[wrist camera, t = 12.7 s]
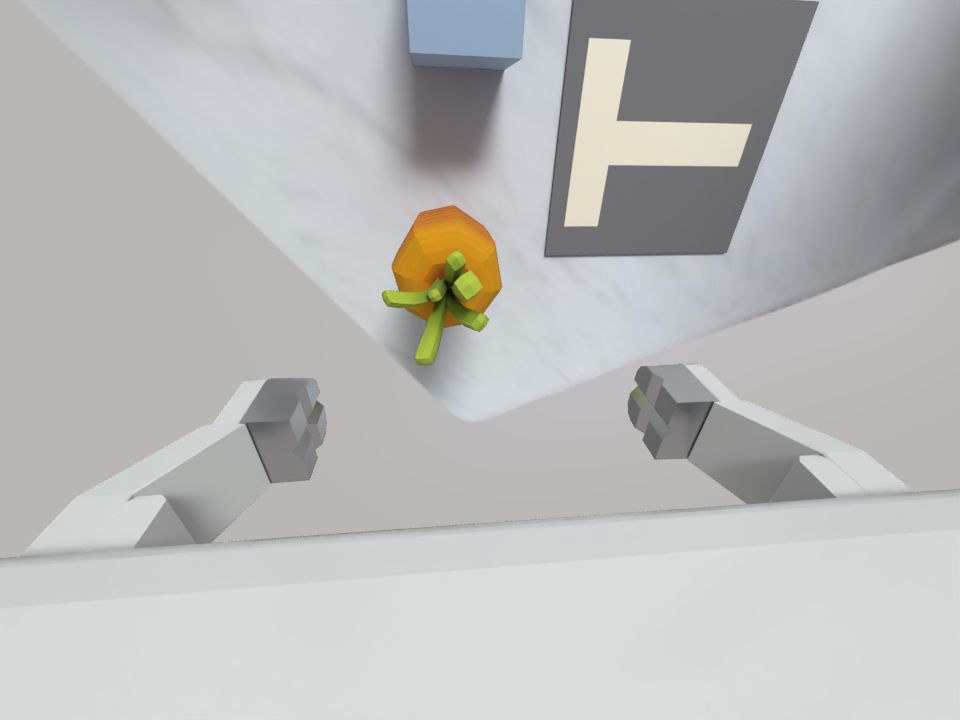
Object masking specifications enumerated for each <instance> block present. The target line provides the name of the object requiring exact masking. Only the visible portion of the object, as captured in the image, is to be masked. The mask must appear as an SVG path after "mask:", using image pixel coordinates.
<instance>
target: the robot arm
mask: <svg viewBox="0 0 960 720" xmlns="http://www.w3.org/2000/svg"><path fill="white" fill-rule="evenodd" d="M635 381H636V383H637V385H638V386H637V387H636V389H634V390H633V391H632V392H631V393H630V397H629V400H628V414H629V417H630V420H631V422H632V424H633V425H634V427H635V428H636V429H638V430H640V431H641V432H643V433H644V437H643V441H644V443H645V445H646V446H647V448H648V449H649V451H650V452H651V454H652V456H653V457H654V459H655V460H657V459H688V461H690V462H691V463H692V464H694V465H695V466H696V467H698V468H699V469H700V470H702V471H703V472H704V473H706V474H707V475H708V476H710V477H711V478H713V479H714V480H715V481H717V482H718V483H719V484H721V485H722V486H723V487H725V488H726V489H728V490H729V491H730V492H732V493H733V494H734V495H736V496H737V497H739V498H740V499H741V500H742V501H744V502H745V503H746V504H745V505H731V506H717V507H704V508H690V509H676V510H661V511H647V512H633V513H619V514H606V515H592V516H577V517H564V518H551V519H550V518H549V519H535V520H523V521H522V520H521V521H508V522H494V523H481V524H466V525H454V526H453V525H452V526H438V527H425V528H411V529H397V530H383V531H370V532H356V533H342V534H328V535H314V536H300V537H288V538H273V539H260V540H259V539H258V540H245V541H231V542H218V543H212V542H213V541H214V540H215V539H216V538H217V537H218V536H219V535H220V534H221V533H222V532H223V531H224V530H225V529H226V528H227V527H228V526H229V525H230V524H231V523H232V522H233V521H235V520H236V519H237V518H238V517H239V516H240V515H241V514H242V513H243V512H244V511H245V510H246V509H247V508H248V507H249V506H250V505H251V504H252V503H253V502H254V501H255V500H256V499H257V498H259V496H261V495H262V494H263V493H264V492H265V491H266V490H267V489H268V488H269V487H270V486H271V483H281V482H292V481H305V480H310V478H311V475H312V472H313V469H314V467H315V464H316V461H317V458H318V457H317V454H316V451H315V449H317V448H318V447H319V446H320V445H322V444H323V441H324V438H325V434H326V424H327V422H326V413H325V409H324V406H323V405H322V404H320V403H319V402H318V401H317V398H318V396H319V393H320V390H319V387H318V384H317V381H316V380H315V379H314V378H279V379H278V378H276V379H249V380H246V381H244V382H243V383H242V384H241V385H240V387H239V388H238V389H237V391H236V392H235V394H234V395H233V396H232V398H231V399H230V400H229V402H228V403H227V404H226V406H225V407H224V408H223V410H222V411H221V412H220V414H219V415H218V417H217V418H216V419H215V421H214V422H213V424H212V425H204V426H202V427H200V428H198V429H197V430H195V431H193V432H191V433H190V434H188V435H186V436H184V437H182V438H181V439H179V440H177V441H176V442H174V443H172V444H170V445H168V446H166V447H165V448H163V449H161V450H159V451H158V452H156V453H154V454H152V455H150V456H149V457H147V458H145V459H143V460H142V461H140V462H138V463H136V464H134V465H133V466H131V467H129V468H127V469H126V470H124V471H122V472H120V473H118V474H117V475H115V476H113V477H111V478H110V479H108V480H106V481H104V482H102V483H101V484H99V485H97V486H95V487H94V488H92V489H90V490H88V491H86V492H85V493H83V494H81V495H79V496H78V497H76V498H74V500H73V501H72V502H71V503H70V504H69V505H68V506H67V507H66V508H65V509H64V510H63V511H62V512H61V513H60V514H59V515H58V516H57V517H56V519H55V520H54V521H53V522H52V523H51V524H50V525H49V526H48V527H47V528H46V529H45V530H44V531H43V532H42V533H41V534H40V535H39V536H38V538H37V539H36V540H35V541H34V542H33V543H32V544H31V545H30V546H29V547H28V548H27V549H26V550H25V551H24V552H23V553H22V554H21V555H20V557H9V558H0V720H960V489H953V490H938V491H924V492H914V491H913V490H911V489H910V488H909V487H908V486H906V485H905V484H903V482H901V481H900V480H899V479H898V478H896V477H895V476H894V475H892V474H891V473H890V472H889V471H888V470H886V469H885V468H884V467H883V466H881V465H880V464H879V463H878V462H876V461H875V460H874V459H872V458H871V457H870V456H869V455H868V454H866V453H865V452H864V451H862V450H860V449H857V448H855V447H853V446H851V445H848V444H846V443H843V442H841V441H839V440H837V439H834V438H832V437H830V436H828V435H825V434H823V433H821V432H818V431H816V430H814V429H811V428H809V427H807V426H804V425H802V424H800V423H797V422H795V421H793V420H791V419H788V418H786V417H784V416H781V415H779V414H777V413H775V412H772V411H770V410H767V409H765V408H763V407H760V406H758V405H756V404H754V403H751V402H749V401H747V400H745V401H741V400H739V398H737V397H736V396H735V395H734V394H733V393H732V392H731V391H730V390H729V389H728V388H727V387H726V386H725V385H724V384H723V383H721V382H720V381H719V380H718V379H717V378H716V377H715V376H714V375H713V374H712V373H711V372H710V371H709V370H708V369H706V367H705V366H704V365H702V364H699V363H687V364H678V365H659V366H641V367H640V368H639V370H638V371H637V373H636V376H635Z"/></svg>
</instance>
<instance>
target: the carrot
mask: <svg viewBox="0 0 960 720" xmlns="http://www.w3.org/2000/svg"><path fill="white" fill-rule="evenodd" d="M392 270H393V273H394V276H395V279H396V283H397V286H398V289H399V291H384V292H382V297H383V300H384V302H385V304H386V305H387V306H389V307H395V308H405V309H406V310H408V311H409V312H411V313H413V314H415V315H417V316H418V317H420V318H422V319H424V320H426V321H427V322H428V323H427V325H426V328H425V330H424V333H423V336H422V338H421V341H420V344H419V346H418V349H417V353H416V356H415V360H416V362H417V363H418V364H421V365H430V364H433V362H434V360H435V358H436V355H437V351H438V348H439V345H440V340H441V336H442V331H443V328H445V327H450V326H455V325H460V324H462V325H464V326H466V327H468V328H470V329H472V330H475V331H478V332H480V331H481V330H482V329H483V328H484V327H485V326H486V325H487V323H488V321H489V319H488V317H487V316H486V315H484V314H483V313H484V312H485V311H486V309H487V308H488V306H489V305H490V304H491V302H492V301H493V300H494V298H495V297H496V296H497V294H498V293H499V291H500V290H501V288H502V283H501V277H500V270H499V264H498V258H497V252H496V245H495V242H494V240H493V239H492V237H491V235H490V234H489V232H488V231H487V230H486V228H485V227H484V226H483V225H482V224H480V223H479V222H477V221H476V220H474V219H473V218H472V217H470V216H469V215H467V214H466V213H464V212H463V211H462V210H460V209H459V208H457V207H456V206H454V205H452V206H447V207H443V208H438V209H433V210H429V211H424V212H421V213H419V215H418V217H417V219H416V220H415V222H414V224H413V226H412V227H411V229H410V231H409V232H408V234H407V236H406V238H405V239H404V241H403V243H402V245H401V247H400V248H399V250H398V252H397V254H396V256H395V259H394V261H393V263H392Z"/></svg>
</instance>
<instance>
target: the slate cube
mask: <svg viewBox="0 0 960 720" xmlns="http://www.w3.org/2000/svg"><path fill="white" fill-rule="evenodd" d="M525 4H526V0H407V13H408V31H409V49H410V55H411V58H412V62H413V65H414V66H429V67H449V68H470V69H490V70H505V69H507V68H508V67H510V66H511V65H513V64H514V63H516V62H517V61H519V60H520V59H522V47H523V33H524V18H525Z"/></svg>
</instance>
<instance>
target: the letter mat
mask: <svg viewBox="0 0 960 720" xmlns="http://www.w3.org/2000/svg"><path fill="white" fill-rule="evenodd" d="M818 4H819V2H815V1H799V0H573V6H572V15H571V24H570V33H569V42H568V51H567V60H566V69H565V78H564V87H563V96H562V105H561V114H560V123H559V132H558V140H557V149H556V158H555V167H554V176H553V185H552V194H551V203H550V212H549V221H548V230H547V239H546V248H545V255H610V254H676V253H727V250H728V247H729V244H730V242H731V239H732V236H733V234H734V231H735V228H736V225H737V223H738V220H739V217H740V215H741V212H742V209H743V207H744V204H745V201H746V198H747V196H748V193H749V190H750V188H751V185H752V182H753V179H754V177H755V174H756V171H757V169H758V166H759V163H760V161H761V158H762V155H763V152H764V150H765V147H766V144H767V142H768V139H769V136H770V133H771V131H772V128H773V125H774V123H775V120H776V117H777V114H778V112H779V109H780V106H781V104H782V101H783V98H784V96H785V93H786V90H787V87H788V85H789V82H790V79H791V77H792V74H793V71H794V68H795V66H796V63H797V60H798V58H799V55H800V52H801V50H802V47H803V44H804V41H805V39H806V36H807V33H808V31H809V28H810V25H811V22H812V20H813V17H814V14H815V12H816V9H817V6H818Z"/></svg>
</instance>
